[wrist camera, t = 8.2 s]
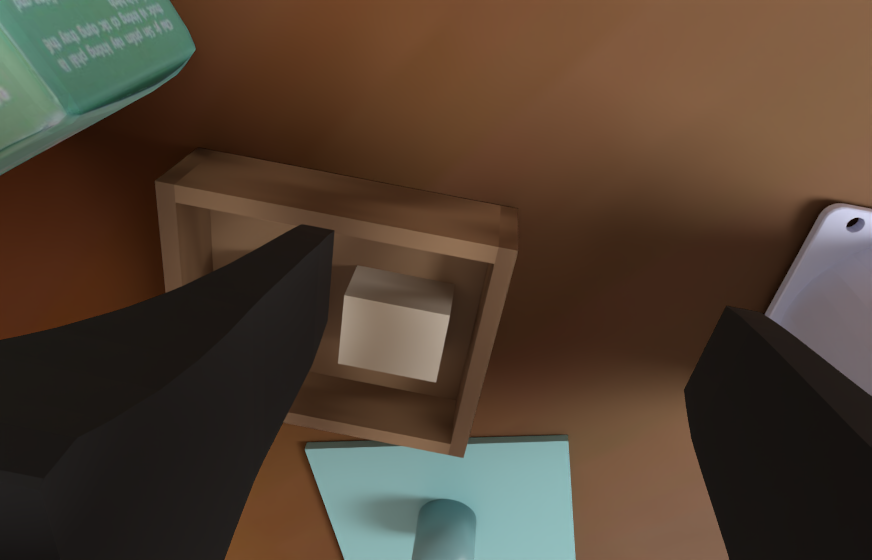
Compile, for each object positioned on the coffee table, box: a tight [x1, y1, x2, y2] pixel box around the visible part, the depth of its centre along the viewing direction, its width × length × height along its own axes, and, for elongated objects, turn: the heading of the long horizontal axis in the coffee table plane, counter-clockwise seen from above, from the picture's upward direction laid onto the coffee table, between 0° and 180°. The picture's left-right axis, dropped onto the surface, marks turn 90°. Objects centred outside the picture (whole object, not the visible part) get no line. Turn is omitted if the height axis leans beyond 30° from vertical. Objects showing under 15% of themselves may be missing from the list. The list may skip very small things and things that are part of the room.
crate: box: [155, 148, 518, 458], centre depth 22 cm, size 11×9×3 cm
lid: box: [305, 435, 575, 560], centre depth 29 cm, size 12×10×4 cm
